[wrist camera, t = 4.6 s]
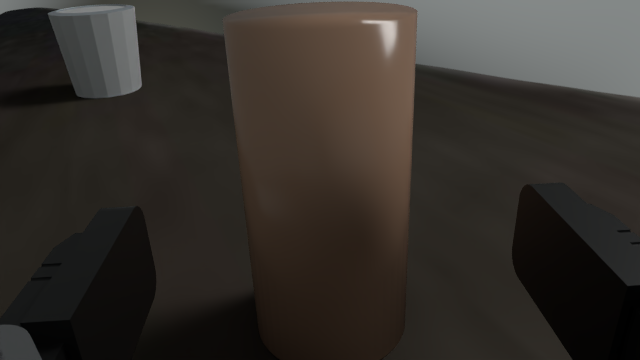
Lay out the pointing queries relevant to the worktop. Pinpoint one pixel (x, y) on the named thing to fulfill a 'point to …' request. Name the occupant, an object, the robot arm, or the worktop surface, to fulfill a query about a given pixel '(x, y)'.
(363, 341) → the cylinder
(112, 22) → the shot glass
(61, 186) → the worktop surface
